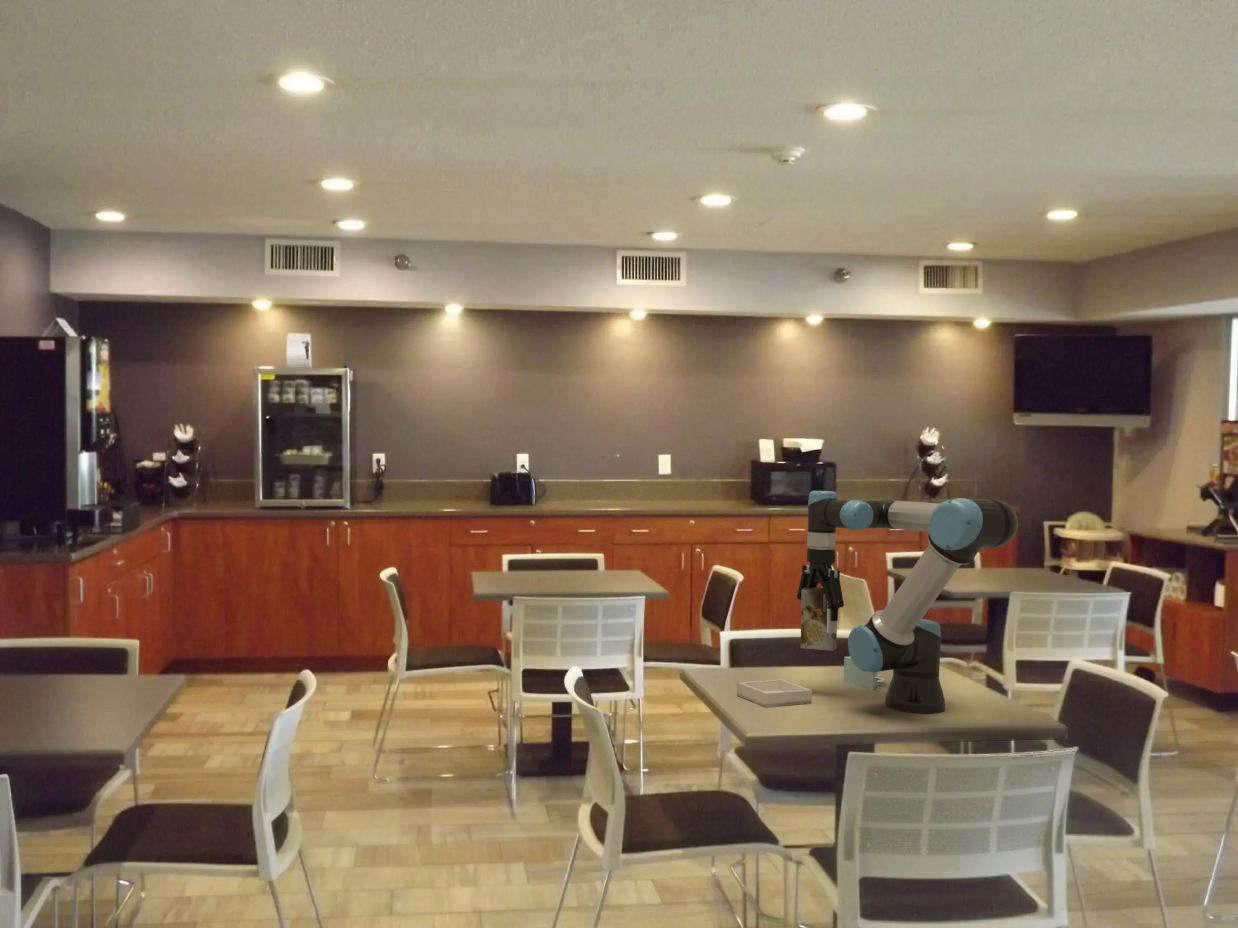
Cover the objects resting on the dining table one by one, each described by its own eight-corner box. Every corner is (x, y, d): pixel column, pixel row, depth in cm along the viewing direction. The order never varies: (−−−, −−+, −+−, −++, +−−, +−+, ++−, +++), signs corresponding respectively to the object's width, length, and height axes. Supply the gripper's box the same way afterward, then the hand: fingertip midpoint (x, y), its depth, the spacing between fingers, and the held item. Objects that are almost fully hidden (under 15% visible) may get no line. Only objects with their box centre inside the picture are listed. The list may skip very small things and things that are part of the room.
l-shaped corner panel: (872, 691, 314) (873, 664, 314) (843, 682, 324) (844, 656, 324) (904, 687, 320) (905, 661, 320) (874, 679, 330) (875, 654, 330)
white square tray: (811, 703, 295) (811, 689, 294) (765, 707, 288) (766, 693, 288) (781, 691, 307) (781, 679, 307) (736, 695, 301) (737, 682, 301)
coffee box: (837, 647, 307) (839, 588, 307) (833, 651, 301) (835, 591, 301) (803, 644, 310) (805, 586, 310) (799, 648, 304) (800, 588, 304)
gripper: (859, 551, 297) (856, 635, 297) (807, 544, 317) (805, 622, 318) (835, 552, 293) (833, 637, 294) (785, 544, 314) (783, 623, 314)
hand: (819, 629), depth 306 cm, fingers closed on coffee box, 11 cm apart
